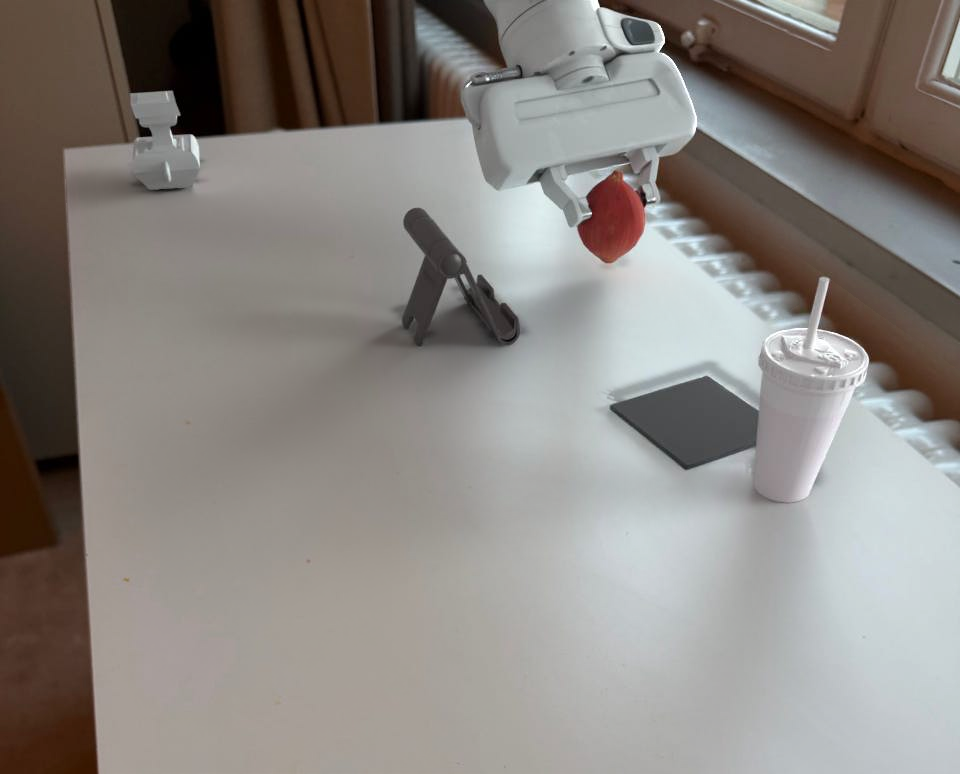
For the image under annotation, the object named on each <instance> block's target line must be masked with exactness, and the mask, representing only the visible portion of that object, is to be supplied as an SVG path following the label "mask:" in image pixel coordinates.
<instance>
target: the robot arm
mask: <svg viewBox="0 0 960 774" xmlns="http://www.w3.org/2000/svg"><path fill="white" fill-rule="evenodd" d="M482 1H483V3H484V5H485V7H486V9H488V11H489V12H490V14H491V15H492V17H493V18H494V20H495V23H496V28H497V36H498V37H497V38H498V44H499V48H500V51H501V54H502V57H503V59H504V63H505V65H506V67H504V68H500V69H496V70H493V71H479V72H475V73H473V74H471V75H470V76H469V79H468V80H467V81H466V82H465V83H464V84H463V85H462V86H461V89H460V96H459V97H460V102H461V103H460V104H461V105H462V109H463V111H464V114H465V116H466V119H467V120H468V122H469V123H470V125H471V128H472V135H473V141H474V145H475V150H476V154H477V158H478V163H479V165H480V169H481V173H482V175H483V178H484V180H485V182H486V183H487V184H488V185H489V186H491V188H493V190H496V191H498V192H500V191H506V190H511V189H515V188H520V187H524V186H529V185H535V184H538V183H539V185H540V187H541V189H542V192H543V195H545V196H546V197H547V198H548V200H550V201H551V202H552V203H553V204H555V205H556V206H557V208H559V209H560V210H561V211H563V214H564V218H565V220H566V222H567V223H566V224H567V226H568V227H569V228H570V229H573V228H577V226H581V225H585V224H586V223H587V222H588V221H589V220H590V219H591V218H592V212H591V209H590V208H589V207H588V205H589V203H588V200H587V198H586V196H582V197H578V196H577V194H575V192H574V191H573V190H572V189H571V188H570V187H569V185H567V183H566V182H565V181H566V180H567V179H568V177H572V176H576V175H577V176H578V175H581V174H586V173H591V172H596V171H600V170H605V169H611V168H615V167H620V166H624V165H629V164H630V166H631V169H632V171H633V174H635V175H636V174H639V180H638V181H639V182H638V187H637V189H634V190H635V191H636V193H637V194H638V196H639V197H640V200H641V202H642V204H643V207H644V211H650V210H653V209H655V208H656V207H657V206H658V205H660V203H661V195H660V192H659V189H658V186H657V184H656V181H657V176H658V169H659V163H660V158H663V157H668V156H672V155H675V154H676V155H677V153H679V152H680V151H681V150H682V149H684V147H685V146H686V145H687V144H688V143H689V142H690V141H691V140H692V139H693V138H694V136H695V133H696V129H697V126H698V125H697V124H698V120H697V115H696V112H695V108H694V105H693V103H692V102H693V101H692V100H691V98H690V94H689V92H688V89H687V87H686V85H685V82H684V80H683V77H682V75H681V73H680V71H679V69H678V68H677V67H678V66H676V64H675V62H674V61H673V60H672V59H671V58H670V57H669V56H668V55H666V54H665V53H663V52H660V50H661V49H662V47H663V45H664V44H665V35H664V32H663V30H662V28H661V25H659V23H658V22H656V21H653V20H650V19H644V18H639V17H635V16H631V15H627V14H624V13H620V12H618V11H614V10H612V9H610V8H607V7H600V3H599V1H598V0H482Z"/></svg>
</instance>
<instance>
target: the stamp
mask: <svg viewBox="0 0 960 774" xmlns="http://www.w3.org/2000/svg"><path fill="white" fill-rule="evenodd" d="M129 98H130V99H129V100H130V107H131V110H132V113H133V115H134V119H138V123H139V125H140V126H141V127H142V128H148V129H149V130H150V132H151V136H142V137H140V136H139V137H136V138H135V139H134V140H133V148H132V160H131V161H132V163H131V169H132V174H133V175H134V176H135V177H136V178H137V179H138V180H139V181H140V182H141V184H143V185H144V186H145V187H146V189H148V190H149V191H160V190H159V189H164V190H175V188H178V189H187V188H193V185H194V183H195V181H196V179H197V177H198V175H199V172H200V170H201V162H200V161H201V160H200V146H199V143H198V140H197V138H196V136H194V135H193V134H173V132H172V130H171V127H174V126H176V125H177V123H178V117H180V116H181V112H180V110H179V107H178V105H177V102H176V98H175V95H174V91H173V90H163V91H162V90H161V91H148V92H147V91H145V92H133V93H129Z"/></svg>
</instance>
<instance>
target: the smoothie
mask: <svg viewBox="0 0 960 774" xmlns="http://www.w3.org/2000/svg"><path fill="white" fill-rule="evenodd" d="M829 283H830V278H829V277H827V276H821V277H819V279H818V283H817V287H816V292H815V296H814V300H813V304H812V309H811V313H810V316H809V321H808V325H807V328H791V329H785V330H781V331H777V332H774V333H772V334H771V335H769V336H768V337H766V338H765V340H764V341H763V342H762V344H761V348H760V353H759V355H758V357H757V359H758V360H757V361H758V367H759V368H760V370H761V378H760V390H759V391H760V392H759V403H758V410H759V416H758V428H757V440H756V446H755V455H754V465H753V478H752V479H753V480H752V486H753V488H754V489H755V491H756V492H757V493H758V494H759V495H760V496H762V497H764V498H765V499H768V500H771V501H774V502H778V503H786V504H787V503H789V504H790V503H797V502H801V501H803V500H804V499H806V498H807V497H808V496H809V495H810V493H811V491H812V488H813V485H814V484H815V481H816V479H817V476H818V475H819V472H820V470H821V467H822V466H823V463H824V460H825V458H826V457H827V454H828V451H829V449H830V447H831V444H832V443H833V440H834V438H835V435H836V433H837V431H838V429H839V426H840V425H841V422H842V420H843V417H844V415H845V413H846V410H847V408H848V407H849V405H850V401H851V399H852V397H853V395H854V392H855V390H856V388H858V387H859V386H860V385H862V384H863V383H864V382H865V380H866V377H867V375H868V374H867V371H868V368H869V364H870V357H869V355H868V353H867V352H866V351H865V349H864V347H862V346H861V345H860V344H859V343H858V342H857V341H855V340H853V339H850V338H849V337H846V336H844V335H841V334H839V333H836V332H831V331H828V330H823V329H818V328H819V323H820V321H821V316H822V312H823V308H824V303H825V299H826V296H827V292H828V288H829Z"/></svg>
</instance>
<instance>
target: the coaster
mask: <svg viewBox="0 0 960 774" xmlns="http://www.w3.org/2000/svg"><path fill="white" fill-rule="evenodd" d="M609 410H610V411H611V412H612V413H613V414H615V416H617V417H618V418H619V419H620V420H622V421H623V422H625V423H626V424H627V425H629V426H630V427H631V428H632V429H633V430H634V431H636V432H637V433H638V434H639V435H641V436H642V437H643V438H645V439H646V440H647V441H648V442H650V443H651V444H652V445H653V446H655V447H656V448H657V449H658V450H659V451H661V452H662V453H663V454H664V455H666V456H667V457H668V458H670V459H671V460H673V461H674V462H675V463H676V464H677V465H679V466H680V467H681V468H682V469H684V471H689V470H692V469H695V468H698V467H700V466H703V465H706V464H709V463H712V462H714V461H719V460H721V459H724V458H726V457H729V456H732V455H735V454H738V453H741V452H744V451H747V450H750V449H753V448H756V440H757V428H758V416H759V409H758V408H756V407H754V406H753V405H752V404H750V403H749V402H747V401H746V400H744V399H743V398H742V397H740V396H739V395H737V394H736V393H735V392H733V391H731V390H730V389H728V388H727V387H726V386H724V385H723V384H721V383H720V382H718V381H717V380H716V379H715V378H713V377H711V376H710V375H708V374H706V375H703V376H700V377H696V378H694V379H690V380H686V381H683V382H680V383H677V384H674V385H671V386H667V387H664V388H661V389H657V390H654V391H650V392H648V393H645V394H642V395H638V396H634V397H631V398H628V399H624V400H622V401H619V402H615V403H612V404H610V406H609Z"/></svg>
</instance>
